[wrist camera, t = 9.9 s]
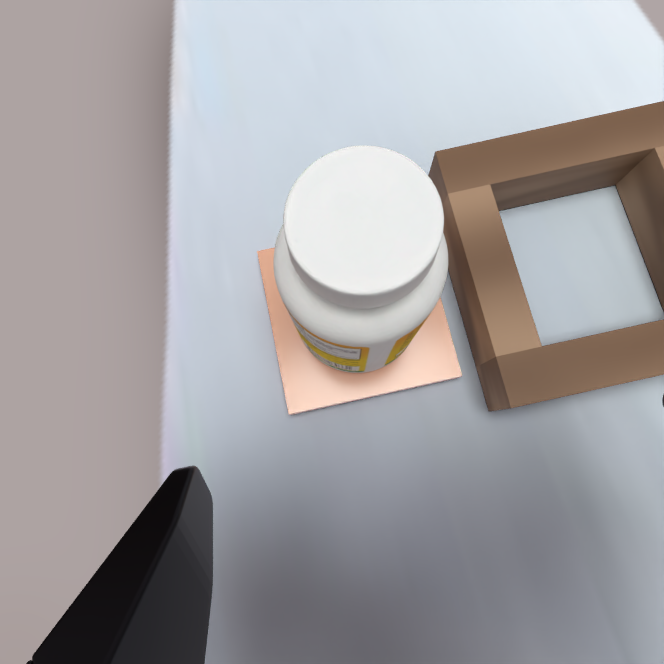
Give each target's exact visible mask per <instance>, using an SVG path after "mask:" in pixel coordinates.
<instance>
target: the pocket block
mask: <svg viewBox="0 0 664 664" xmlns="http://www.w3.org/2000/svg"><path fill="white" fill-rule="evenodd" d="M428 176H429V178H430V179H431V180H432V182H433V184H434V185H435V187H436V189H437V191H438V193H439V196H440V199H441V202H442V207H443V213H444V228H443V234H444V236H445V240H446V244H447V249H448V270H449V274H450V277H451V281H452V284H453V288H454V291H455V295H456V298H457V302H458V305H459V309H460V312H461V316H462V319H463V323H464V326H465V330H466V333H467V337H468V340H469V344H470V347H471V351H472V354H473V358H474V361H475V365H476V368H477V372H478V375H479V379H480V382H481V386H482V389H483V393H484V397H485V400H486V404H487V407H488V411H496V410H503V409H509V408H514V407H519V406H523V405H528V404H532V403H537V402H541V401H546V400H550V399H555V398H560V397H564V396H569V395H573V394H578V393H582V392H587V391H591V390H596V389H600V388H605V387H609V386H614V385H618V384H623V383H627V382H632V381H636V380H641V379H645V378H650V377H654V376H659V375H663V374H664V320H659V321H654V322H650V323H645V324H641V325H636V326H632V327H627V328H623V329H618V330H614V331H609V332H605V333H600V334H596V335H591V336H587V337H582V338H578V339H573V340H569V341H564V342H560V343H555V344H551V345H546V346H542V345H541V342H540V339H539V336H538V333H537V330H536V327H535V323H534V320H533V317H532V314H531V311H530V308H529V305H528V301H527V298H526V295H525V292H524V289H523V286H522V283H521V280H520V276H519V273H518V270H517V267H516V264H515V261H514V258H513V254H512V251H511V248H510V245H509V242H508V239H507V236H506V232H505V229H504V226H503V223H502V220H501V217H500V214H499V211H500V210H505V209H510V208H514V207H519V206H523V205H528V204H532V203H537V202H541V201H546V200H550V199H555V198H559V197H564V196H568V195H573V194H577V193H582V192H586V191H591V190H595V189H600V188H604V187H609V186H613V185H616V187H617V190H618V193H619V195H620V198H621V200H622V203H623V206H624V208H625V211H626V214H627V216H628V219H629V221H630V224H631V227H632V229H633V232H634V234H635V237H636V240H637V242H638V245H639V248H640V250H641V253H642V255H643V258H644V261H645V263H646V266H647V268H648V271H649V274H650V276H651V279H652V281H653V284H654V287H655V289H656V292H657V295H658V297H659V300H660V302H661V305H662V308H663V310H664V101H662V102H657V103H653V104H648V105H644V106H639V107H635V108H630V109H626V110H621V111H617V112H612V113H608V114H603V115H599V116H594V117H590V118H585V119H581V120H576V121H572V122H567V123H563V124H558V125H554V126H549V127H545V128H540V129H536V130H531V131H527V132H522V133H518V134H513V135H509V136H504V137H500V138H495V139H491V140H486V141H482V142H477V143H472V144H468V145H463V146H459V147H454V148H450V149H445V150H441V151H436V152H435V155H434V158H433V162H432V165H431V169H430V172H429V175H428Z"/></svg>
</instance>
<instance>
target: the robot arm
mask: <svg viewBox="0 0 664 664" xmlns="http://www.w3.org/2000/svg"><path fill="white" fill-rule="evenodd" d="M663 406H664V395H663ZM212 586H213V502H212V496H211V493H210V491H209V489H208V487H207V485H206V483H205V481H204V479H203V476H202V474H201V472H200V470H199V469H198V468H197V467H196V466H188V467H184V468H179V469H176V470H174V471H173V472H172V473H171V474H170V475H169V476H168V478H167V479H166V480H165V482H164V483H163V484H162V486H161V487H160V488H159V490H158V491H157V492H156V494H155V495H154V496H153V497H152V499H151V500H150V501H149V503H148V504H147V505H146V507H145V508H144V509H143V511H142V512H141V513H140V515H139V516H138V517H137V519H136V520H135V522H134V523H133V524H132V525H131V527H130V528H129V529H128V531H127V532H126V533H125V534H124V536H123V537H122V538H121V540H120V541H119V542H118V544H117V545H116V546H115V548H114V549H113V550H112V552H111V553H110V554H109V555H108V557H107V558H106V559H105V561H104V562H103V563H102V565H101V566H100V567H99V569H98V570H97V571H96V573H95V574H94V575H93V577H92V578H91V579H90V581H89V582H88V583H87V584H86V586H85V587H84V589H83V590H82V591H81V592H80V594H79V595H78V596H77V598H76V599H75V601H74V602H73V603H72V604H71V606H70V607H69V608H68V610H67V611H66V612H65V614H64V615H63V616H62V618H61V619H60V620H59V621H58V623H57V624H56V625H55V627H54V628H53V629H52V631H51V632H50V633H49V635H48V636H47V637H46V639H45V640H44V641H43V643H42V644H41V645H40V647H39V648H38V649H37V651H36V652H35V653H34V655H33V657H32V660H30V661H28V662H27V663H26V664H204V662H205V653H206V644H207V635H208V626H209V617H210V607H211V598H212Z"/></svg>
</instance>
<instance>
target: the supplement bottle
mask: <svg viewBox="0 0 664 664" xmlns="http://www.w3.org/2000/svg"><path fill="white" fill-rule="evenodd" d="M443 228H444V213H443V207H442V202H441V199H440V196H439V193H438V191H437V189H436V187H435V185H434V184H433V182H432V180H431V179H430V178H429V176H428V175H427V174H426V173H425V172H424V171H423V170H422V169H421V168H420V167H419V166H418V165H417V164H416V163H415V162H413V161H412V160H411V159H409V158H408V157H406V156H404V155H402V154H400V153H398V152H395V151H392V150H389V149H386V148H382V147H377V146H352V147H346V148H343V149H339V150H336V151H334V152H330V153H328V154H326V155H324V156H323V157H321V158H319V159H318V160H316V161H315V162H313V163H312V164H311V165H310V166H309V167H308V168H307V169H305V171H304V172H303V173H302V174H301V175H300V176H299V177H298V179H297V180H296V181H295V183H294V185H293V186H292V188H291V190H290V192H289V195H288V197H287V200H286V204H285V209H284V217H283V225H282V227H281V229H280V231H279V234H278V237H277V240H276V244H275V250H274V260H273V266H274V277H275V281H276V285H277V288H278V291H279V294H280V296H281V298H282V301H283V303H284V305H285V307H286V309H287V311H288V313H289V315H290V317H291V319H292V321H293V323H294V325H295V327H296V329H297V331H298V333H299V335H300V337H301V339H302V341H303V342H304V344H305V346H306V347H307V348H308V350H309V351H310V352H311V353H312V354H313V355H314V356H315V357H316V358H317V359H318V360H320V361H321V362H322V363H324V364H326V365H327V366H329V367H332V368H334V369H337V370H340V371H344V372H350V373H365V372H370V371H374V370H377V369H380V368H382V367H384V366H386V365H388V364H390V363H391V362H393V361H394V360H395V359H397V358H398V357H399V356H400V355H401V354H402V353H403V352H404V350H405V349H406V348H407V347H408V345H409V344H410V342H411V341H412V339H413V338H414V336H415V335H416V333H417V332H418V331H419V329H420V328H421V326H422V325H423V324H424V322H425V321H426V319H427V318H428V317H429V315H430V314H431V312H432V310H433V309H434V307H435V305H436V304H437V302H438V300H439V298H440V296H441V294H442V292H443V289H444V286H445V282H446V278H447V272H448V249H447V244H446V240H445V236H444V234H443Z"/></svg>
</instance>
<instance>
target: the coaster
mask: <svg viewBox="0 0 664 664" xmlns="http://www.w3.org/2000/svg"><path fill="white" fill-rule="evenodd" d="M274 250H275V248H270V249H266V250H261V251H257V253H258V258H259V263H260V268H261V273H262V279H263V284H264V289H265V294H266V299H267V304H268V310H269V315H270V320H271V325H272V330H273V335H274V341H275V346H276V351H277V356H278V361H279V366H280V372H281V377H282V382H283V387H284V392H285V397H286V403H287V408H288V413H289V415H294V414H298V413H303V412H307V411H312V410H316V409H321V408H325V407H330V406H334V405H339V404H343V403H348V402H352V401H357V400H361V399H366V398H370V397H375V396H379V395H384V394H388V393H393V392H398V391H402V390H407V389H411V388H416V387H420V386H425V385H429V384H434V383H438V382H443V381H447V380H452V379H456V378H459V377H461V376H462V373H461V370H460V366H459V362H458V359H457V355H456V352H455V348H454V344H453V341H452V337H451V334H450V330H449V326H448V323H447V319H446V316H445V312H444V308H443V305H442V301H441V298H439V300H438V302H437V304H436V305H435V307H434V309H433V310H432V312H431V314H430V315H429V317H428V318H427V319H426V321H425V322H424V324H423V325H422V326H421V328H420V329H419V331H418V332H417V333H416V335H415V336H414V338H413V339H412V341H411V342H410V344H409V345H408V347H407V348H406V349H405V350H404V352H403V353H402V354H401V355H400V356H399V357H398V358H397V359H395V360H394V361H393V362H391V363H390V364H388V365H386V366H384V367H382V368H380V369H377V370H374V371H370V372H365V373H350V372H344V371H340V370H337V369H334V368H332V367H329V366H327V365H326V364H324V363H322V362H321V361H320V360H318V359H317V358H316V357H315V356H314V355H313V354H312V353H311V352H310V351H309V350H308V348H307V347H306V346H305V344H304V342H303V341H302V339H301V337H300V335H299V333H298V331H297V329H296V327H295V325H294V323H293V321H292V319H291V317H290V315H289V313H288V311H287V309H286V307H285V305H284V303H283V301H282V298H281V296H280V294H279V291H278V288H277V285H276V281H275V277H274V266H273V260H274Z"/></svg>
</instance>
